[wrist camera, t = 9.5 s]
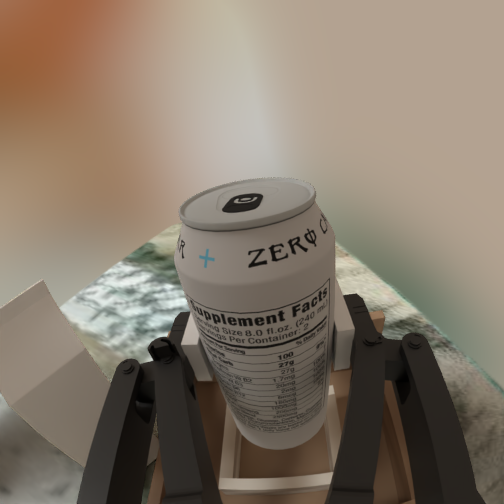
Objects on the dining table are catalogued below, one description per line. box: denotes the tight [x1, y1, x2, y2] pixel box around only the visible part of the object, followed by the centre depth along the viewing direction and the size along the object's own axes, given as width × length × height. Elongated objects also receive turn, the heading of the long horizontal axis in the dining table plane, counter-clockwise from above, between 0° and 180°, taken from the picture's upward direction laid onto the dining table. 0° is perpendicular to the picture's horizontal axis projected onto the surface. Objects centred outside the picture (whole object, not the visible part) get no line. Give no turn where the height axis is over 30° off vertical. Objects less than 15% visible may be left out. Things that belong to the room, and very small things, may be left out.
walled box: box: [147, 310, 415, 504], centre depth 19 cm, size 20×18×8 cm
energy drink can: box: [174, 178, 335, 450], centre depth 13 cm, size 6×6×15 cm
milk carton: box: [0, 279, 159, 467], centre depth 17 cm, size 7×7×19 cm
